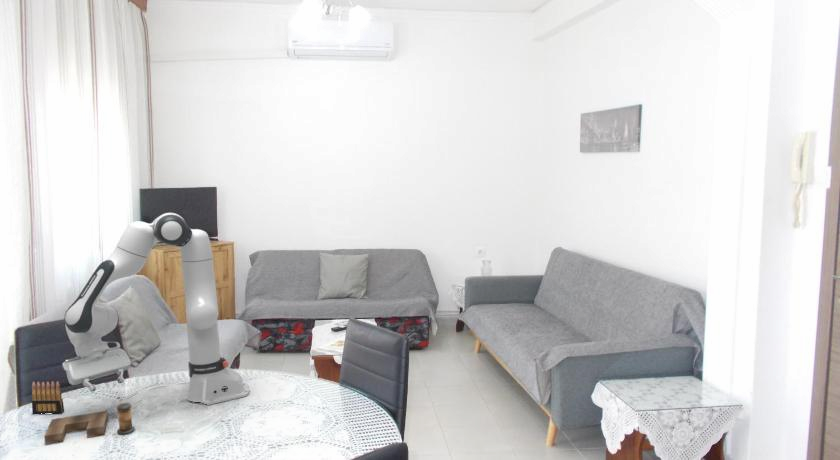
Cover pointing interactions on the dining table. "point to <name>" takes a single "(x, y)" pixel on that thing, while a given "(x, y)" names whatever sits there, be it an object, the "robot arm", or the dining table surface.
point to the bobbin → (125, 419)
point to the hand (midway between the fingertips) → (107, 386)
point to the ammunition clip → (47, 399)
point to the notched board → (76, 426)
